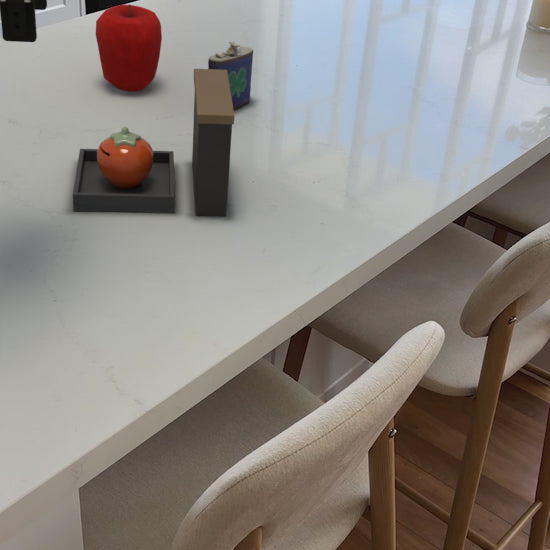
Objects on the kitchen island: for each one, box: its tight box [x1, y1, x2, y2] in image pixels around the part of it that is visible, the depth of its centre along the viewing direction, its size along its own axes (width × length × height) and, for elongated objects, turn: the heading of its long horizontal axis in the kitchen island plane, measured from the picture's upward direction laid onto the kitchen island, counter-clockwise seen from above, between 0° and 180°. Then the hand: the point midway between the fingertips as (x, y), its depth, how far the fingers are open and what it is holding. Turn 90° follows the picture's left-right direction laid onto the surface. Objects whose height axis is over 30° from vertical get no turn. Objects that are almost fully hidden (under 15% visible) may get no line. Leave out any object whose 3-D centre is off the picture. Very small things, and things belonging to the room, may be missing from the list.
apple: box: [95, 3, 163, 93], centre depth 142 cm, size 11×10×14 cm
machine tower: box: [191, 68, 235, 217], centre depth 116 cm, size 4×14×14 cm, turn 6°
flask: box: [207, 41, 254, 111], centre depth 139 cm, size 9×3×11 cm, turn 139°
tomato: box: [97, 126, 154, 189], centre depth 115 cm, size 7×7×8 cm
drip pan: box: [72, 148, 176, 214], centre depth 118 cm, size 13×13×2 cm
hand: (26, 23), depth 92 cm, fingers open, 9 cm apart
